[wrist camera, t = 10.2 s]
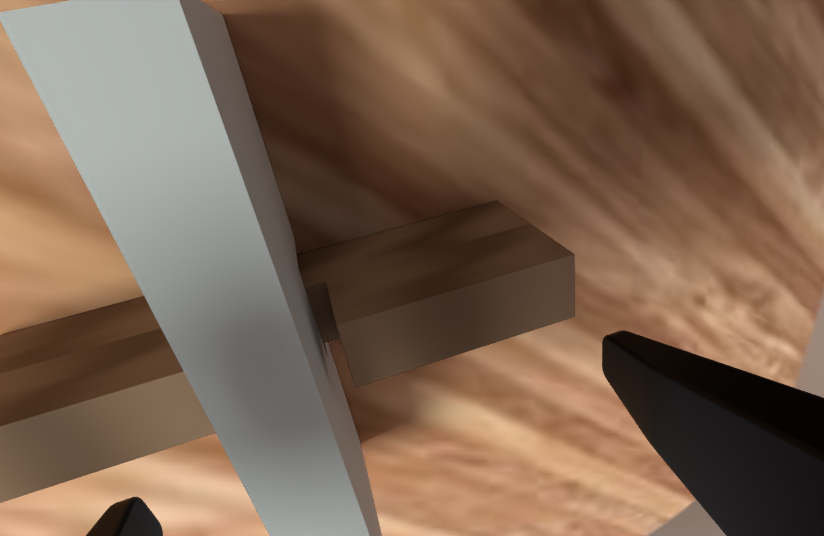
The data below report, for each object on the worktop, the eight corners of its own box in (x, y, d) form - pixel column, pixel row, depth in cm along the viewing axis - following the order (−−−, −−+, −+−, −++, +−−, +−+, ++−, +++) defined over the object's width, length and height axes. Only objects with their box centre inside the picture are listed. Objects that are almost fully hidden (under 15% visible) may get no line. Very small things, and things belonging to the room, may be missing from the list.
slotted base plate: (496, 200, 21) (574, 253, 15) (501, 250, 22) (574, 316, 16) (0, 335, 17) (-116, 461, 12) (37, 386, 18) (-54, 520, 13)
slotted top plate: (360, 443, 24) (404, 632, 17) (313, 460, 24) (335, 661, 16) (222, 14, 15) (172, -18, 7) (141, 29, 15) (-5, 13, 7)
